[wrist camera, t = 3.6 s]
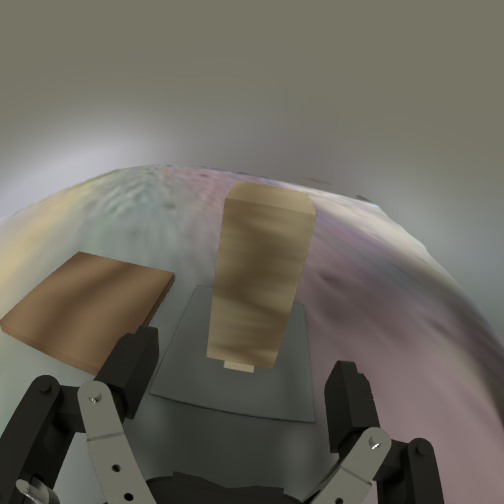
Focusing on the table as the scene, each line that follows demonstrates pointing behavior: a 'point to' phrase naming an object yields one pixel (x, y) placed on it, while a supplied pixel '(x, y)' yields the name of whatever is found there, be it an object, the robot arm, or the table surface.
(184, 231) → the table surface
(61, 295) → the walnut board
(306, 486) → the table surface
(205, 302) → the card
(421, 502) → the robot arm
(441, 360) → the table surface
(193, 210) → the table surface
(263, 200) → the maple block
